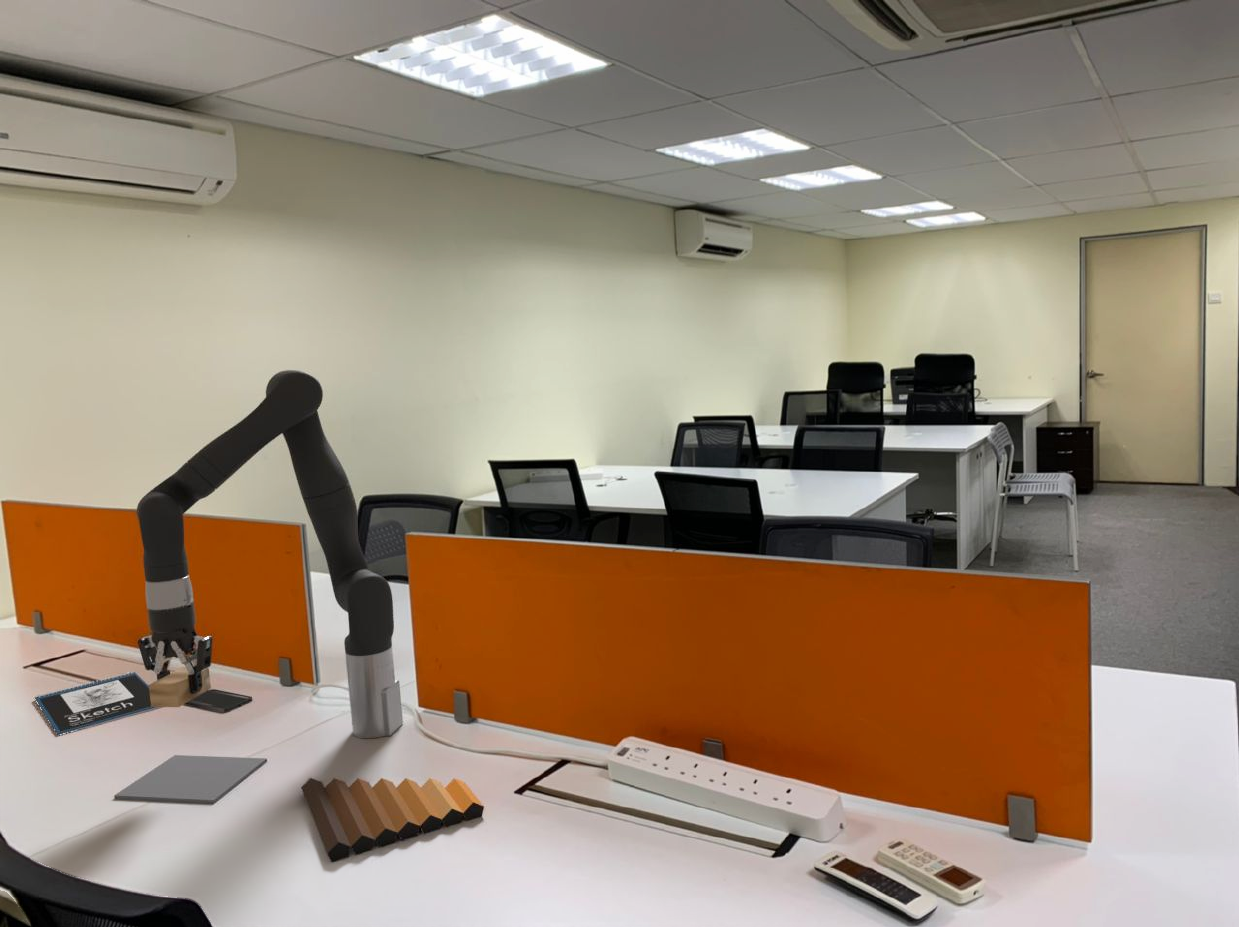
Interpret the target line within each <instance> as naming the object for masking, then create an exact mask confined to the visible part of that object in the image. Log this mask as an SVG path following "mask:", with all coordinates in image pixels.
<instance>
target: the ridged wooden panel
mask: <svg viewBox="0 0 1239 927" xmlns="http://www.w3.org/2000/svg"><path fill="white" fill-rule="evenodd" d="M300 788H301V791H302V794H303V796H304V799H305V801H306V803H307V807H308V809H309V812H310V813H311V817H312V818H313V822H314V824H315V827H316V829H317V832H318V834H319V836H320V839H321V842H322V844H323V847H324V849H325V851H326V855H327V856H328V858H329V860H330V862H331V863H334V862H338V861H342V860H344V859H348V858H350V854H351V850H352V851H353V853H354V855H355V856H357V855H361V854H364V852H365V853H368V852H371V851H372V850H373V848H374V845H375V844H376V845H377V847H378V848H379V849H380V848H383V847H387V846H390V845H393V844H396V841H397V837H398V836H399V839H400V840H401V842H403V841H406V840H410V839H413V838H416V837H419V831H420V830H421V832H422V833H423V834H424V835H425V834H426V835H427V834H429V833H432V832H435V831H439V830H440V829H441V825H442V824H443V826H444V827H445V828H449V827H451V826H455V825H458V824H461V823H462V821H463V818H464V819H465V820H466V821H467V822H468V821H471V820H475V819H478V818H483V814H484V809H485V806H484V804H483V803H482V801H480V799H479V798H478V797H477V796H476V794H475V793H474V792H473V791H472V790H471V789H470V787H469V786H468V785H467V784H466V782H465V781H462V780H460V779H457V778H453V779H452V780H450V782H449V783H448V784H446V786H444V785H443V783H442V782H441V781H438V780H435V779H433V778H431V777H430V778H428V779H427V780H426V781H425V783H423V785H422V786H421V787H420V785H419V784H418V782H417V781H414V780H412V779H410V778H406V777H405V778H404V779H403V780H402V781H401V782H400V783H399V784H398V785H397V786H396V785H395V784H394V782H393V781H390V780H388V779H386V778H383V777H381V778H380V779H379V780H378V781H377V782H376V783H375V784H374V785H373V786H372V785H371V783H370V781H367V780H365V779H362V778H359V777H357V778H356V779H355V780H354V781H353V782H352V783H351V784H350V785H349V786H348V783H346V781H345V780H342V779H338V778H336V777H333V778H332V780H330V781H329V782H328V783H327V784H326V785H325V786H324V783H323V781H321V780H318V779H316V778H314V777H310V778H308V779H307V781H305V783H303V784H302V785H301V787H300Z"/></svg>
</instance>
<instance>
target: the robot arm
mask: <svg viewBox="0 0 1239 927" xmlns="http://www.w3.org/2000/svg"><path fill="white" fill-rule="evenodd" d="M323 394H324V391H323V387H322V385H321V383H320V381H319V380H318V379H317V378H316V377H315V376H314V375H313V374H310V373H309V372H306V371H304V370H303V371H302V370H293V369H286V370H281V371H279V372H277V373H275V374H274V375H273V376H272V377H271V378H270V379H269V381H268V383H267V385H266V388H265V397H264V398H263V399H262V401H261V402H260V403H259V404H258V406H257V407H255V409H253V410H252V411H251V412H250V413H249V414H247V416H245V417H244V418H243V419H242V420H240V421H239V422H238V423H236V424H235V425H233V426H232V427H231V428H229V429H227V430H226V431H225V432H223V433H221V434H220V435H218V436H217V437H215V439H213V440H211V441H210V442H209V443H207V444H206V445H205V446H204V447H202V448H201V449H200V450H199V451H198V452H196V453H195V454H193V456H192V457H190V459H188V460H187V461H186V462H185V463H184V464H183V465H182V466H181V467H180V468H179V469H178V470H176V471H175V472H174V473H173V474H172V475H170V476H168V477H167V478H166V479H164V480H162V482H160V483H158V484H157V485H156V486H154V488H152V489H151V490H150V491H149V492H147V493H146V494H145V495H144V496H143V497H142V498H141V499H140V500H139V502H138V503H137V507H136V515H137V519H138V524H139V530H140V535H141V542H142V546H143V554H142V558H143V560H142V561H143V562H142V563H143V572H144V580H145V601H146V602H145V603H146V610H147V617H148V618H147V619H148V625H149V630H150V631H151V632H152V634H148V635H146V636H143V637H142V638H139V639H138V640H137V646H138V648H139V652H140V654H141V655H140V656H141V659H142V661H143V665H144V668H145V670H146V671H153V672H154V674H155V675H156V681H157V680H159V679H161V678H163V677H165V676H167V675H169V674H171V671H170V669H169V668H170V665H171V660H172V659H173V658H174V659H178V660H179V661H180V663H181V665H184V667H186V669H187V671H188V673H189V675H188V679H189V687H190V693H191V694H196V693H197V692H199V691H200V690H201V688H202V686H203V684H202V675H201V671H202V670H204V669H206V668H210V667H211V665H212V652H213V641H214V640H213V636H212V635H207V636H201V635H198V633H197V631H196V629H195V628H196V627H195V625H196V622H197V618H196V611H195V609H196V608H195V602H194V601H195V600H194V593H193V585H192V581H191V579H190V573H189V571H190V570H189V564H188V563H189V562H188V555H187V552H186V547H185V526H184V525H185V522H184V514H185V513H186V512H187V511H188V510H190V509H191V508H193V506H194V505H195V504H196V503H198V501H200V500H202V499H205V498H207V497H209V496H210V495H211V494H213V493H214V492H216V490H218V489H219V488H220V487H221V486H222V485H223V484H224V483H225V482H227V480H229V479H230V478H231V477H232V476H233V475H234V474H235V473H236V472H238V471H239V469H241V468H242V467H243V466H244V465H245V464H247V463H248V462H249V461H250V460H251V459H252V458H253V457H254V456H255V455H256V454H257V453H259V452H260V451H261V450H262V449H263V448H265V447H266V446H267V445H268V444H270V443H271V442H272V441H274V440H275V439H276V438H277V437H279V436H280V435H282V436H283V438H284V441H285V443H286V445H287V448H288V451H289V455H290V459H291V463H292V467H293V471H294V474H295V477H296V480H297V484H298V487H299V492H300V495H301V497H302V500H303V502H304V503H303V504H304V506H305V509H306V512H307V515H308V517H309V520H310V522H311V524H312V527H313V529H314V532H315V535H316V538H317V539H318V543H319V544H320V547H321V549H322V551H323V554H324V557H325V560H326V563H327V564H326V565H327V569H328V573H329V577H330V581H331V585H332V586H331V587H332V590H333V596H334V597H335V601H336V603H337V604H338V605H339V607H340V608H341V609H342V610H343V611H345V612H346V613H347V615H348V616H347V618H348V619H347V620H348V635H346V637H345V638H344V640H343V641H344V645H343V646H344V654H345V664H346V676H347V685H348V696H349V705H350V715H351V726H352V734H353V735H354V737H357V738H361V739H374V738H381V737H384V736H385V737H386V736H388V737H389V736H392V735H393V734H394V733H395V732H396V731H397V730H398V729H399V728H400V727H401V726H402V725H403V724H404V719H403V709H402V708H403V707H402V696H401V687H400V686H401V685H400V681H399V679H396V677H395V676H396V675H395V665H394V655H393V654H394V653H393V643H392V642H393V641H392V639H393V635H394V631H395V624H394V623H395V622H394V603H393V601H394V600H393V594H392V589H391V586H390V583H389V582H388V581H387V579H385V578H384V576H381V575H380V574H378V573H375V572H373V571H372V570H371V568H370V567H369V565H368V561H367V560H366V558H365V556H364V553H363V550H362V547H361V545H360V541H359V533H358V532H359V531H358V530H359V528H358V526H359V524H358V521H359V519H358V508H357V507H358V506H357V502H356V498H355V497H354V495H355V494H354V492H353V490H352V486H351V484H350V481H349V478H348V476H347V474H346V471H345V469H344V467H343V465H342V463H341V462H340V460H339V458H338V456H337V454H336V453H335V451H334V449H333V448H332V446H331V444H330V442H329V440H328V439H327V437H326V435H325V432H324V429H323V426H322V423H321V420H320V415H319V412H318V409H319V408H320V407H321V405H322V402H323V397H324V395H323ZM195 645H196V646H195ZM188 655H189V656H188Z"/></svg>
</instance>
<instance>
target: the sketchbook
mask: <svg viewBox="0 0 1239 927" xmlns="http://www.w3.org/2000/svg"><path fill="white" fill-rule="evenodd" d="M111 676H112V677H111V678H110V676H108V677H107V679H106V678H105V677H104V679H102V678H100V680H99V681H98V679H96V681H94V680H92V682H91V683H90V681H88V683H86V682H84V684H82V683H80V685H78V684H76V686H75V687H74V685H72V687H70V686H68V687H67V689H66V687H64V689H62V688H60V689H59V690H58V689H55V692H54V690H52V691H51V693H50V692H49V691H48V692H47V694H46V693H45V692H44V693H43V694H42V695H41V694H40V693H39V694H37V696H35V697H34V700H35V699H36V701H37V702H38V704H39V706H40V707H41V709H42V711H43V712H44V714H45V716H46V717H47V719H48V720H49V722H50V723H49V722H48V723H49V725H50V724H51V725H52V726H53V728H54V729H55V731H56V732H55V731H54V732H55V734H56V733H57V734H58V735H60V734H63V733H67V732H71V731H75V730H79V729H82V730H84V729H83V728H86V729H88V728H87V727H90V728H92V727H91V726H93V727H97V726H100V725H104V724H108V723H110V722H114V721H118V720H121V718H122V719H125V718H129V717H133V716H136V715H139V714H143V713H146V712H150V711H153V710H157V709H161V708H162V707H151V700H150V692H149V685H150V684H148V683H147V682H146V681H145V680H144V679H142V677H141V676H140V675H139V674H137V673H136V671H135V672H132V671H127V673H126V674H125V672H124V673H123V674H121V673H120V674H119V675H118V674H115V676H113V675H111ZM39 706H38V707H39ZM41 709H40V710H41ZM42 711H41V712H42ZM43 712H42V713H43ZM44 714H43V715H44ZM45 716H44V717H45ZM46 717H45V718H46ZM47 719H46V720H47ZM48 720H47V721H48ZM107 722H108V723H107ZM103 723H104V724H103ZM51 725H50V726H51ZM52 726H51V727H52ZM53 728H52V729H53ZM54 729H53V730H54ZM79 731H80V730H79ZM75 732H76V731H75ZM57 734H56V735H57ZM58 735H57V736H58Z"/></svg>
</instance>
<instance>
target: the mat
mask: <svg viewBox="0 0 1239 927" xmlns="http://www.w3.org/2000/svg"><path fill="white" fill-rule="evenodd" d="M267 762H268V759H267V758H262V757H240V756H239V757H235V756H211V755H210V756H209V755H208V756H206V755H183V754H182V755H180V754H174V755H173V756H171V757H170V758H168V759H167V760H165V761H164V762H162V763H161V764H159V765H158V766H156V767H155V768H153V769H152V770H150V771H149V772H147V773H146V774H145V775H143V776H141V777H140V778H138V779H137V780H135V781H134V782H132V783H131V784H129V785H127V786H126V787H125V788H123V789H121V790H120V791H119V792H117V793H116V794H114V796H113V798H114V799H115V800H116V799H118V800H134V801H135V800H138V801H154V802H155V801H156V802H175V803H176V802H178V803H180V802H181V803H193V804H194V803H197V804H215V803H217V802H218V801H220V799H222V798H223V797H224V796H225V795H226V794H228V793H229V792H230V791H232V790H233V789H235V788H236V787H237V786H239V784H241V783H242V782H243V781H245V780H246V779H247V778H248V777H250V776H251V775H252V774H253V773H254V772H256V771H257V770H259V768H260V767H262V766H263V765H264V764H266V763H267Z"/></svg>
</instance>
